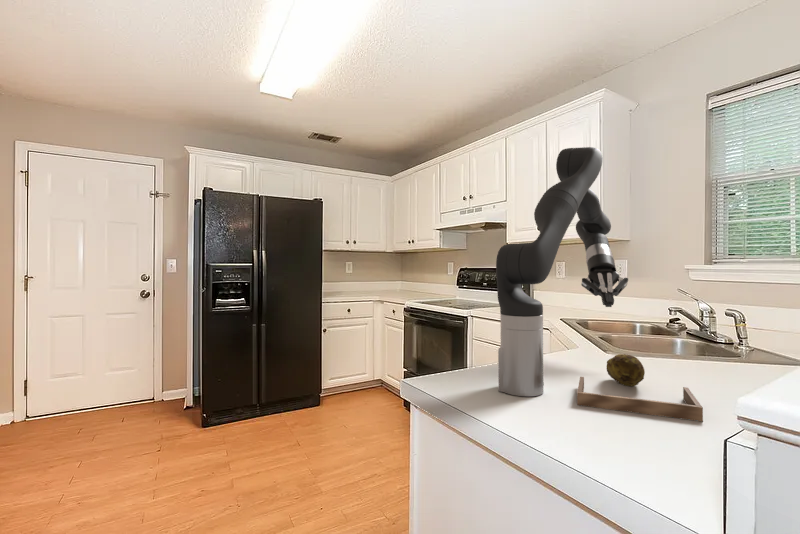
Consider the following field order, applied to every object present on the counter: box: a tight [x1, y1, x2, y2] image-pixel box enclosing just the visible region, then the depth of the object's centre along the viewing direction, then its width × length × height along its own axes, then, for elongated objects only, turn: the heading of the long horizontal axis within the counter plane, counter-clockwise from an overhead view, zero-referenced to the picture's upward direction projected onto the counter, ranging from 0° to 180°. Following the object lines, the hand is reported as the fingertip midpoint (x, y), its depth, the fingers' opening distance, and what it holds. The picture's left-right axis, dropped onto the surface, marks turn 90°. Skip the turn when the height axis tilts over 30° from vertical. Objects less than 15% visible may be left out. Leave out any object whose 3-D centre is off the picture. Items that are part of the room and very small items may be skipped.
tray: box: [576, 376, 704, 422], centre depth 83 cm, size 21×14×2 cm, turn 64°
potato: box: [606, 353, 646, 387], centre depth 94 cm, size 8×13×8 cm, turn 146°
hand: (609, 305), depth 114 cm, fingers closed
